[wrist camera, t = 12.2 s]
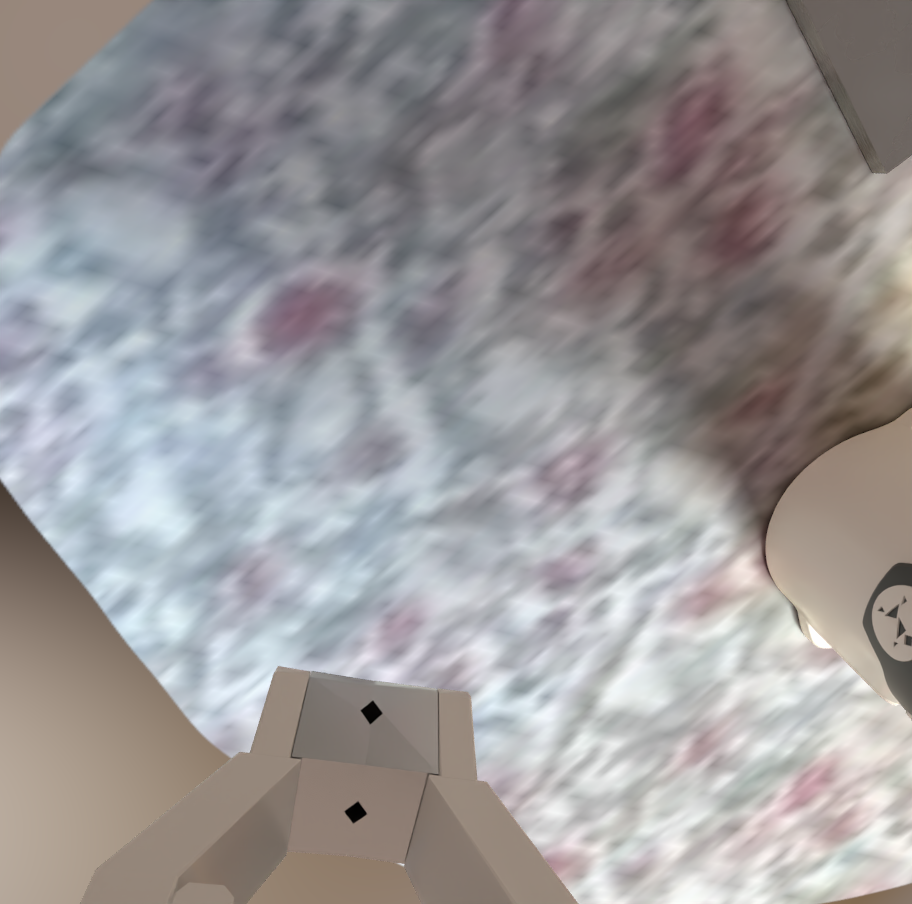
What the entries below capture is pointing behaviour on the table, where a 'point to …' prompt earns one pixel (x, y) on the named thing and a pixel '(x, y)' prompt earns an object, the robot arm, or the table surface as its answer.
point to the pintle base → (866, 69)
